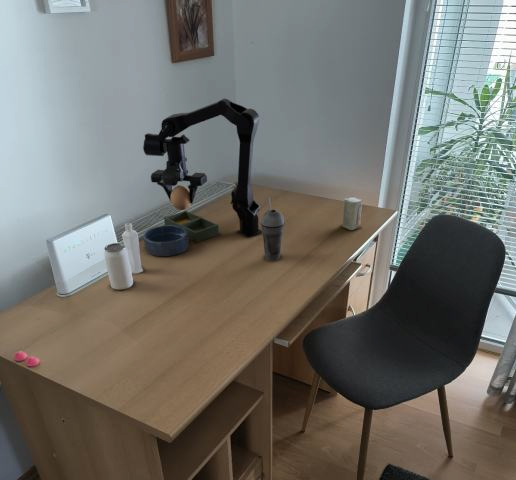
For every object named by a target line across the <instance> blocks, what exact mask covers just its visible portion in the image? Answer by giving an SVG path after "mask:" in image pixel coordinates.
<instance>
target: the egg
mask: <svg viewBox="0 0 516 480" xmlns="http://www.w3.org/2000/svg"><path fill="white" fill-rule="evenodd" d="M170 203H171V205H172V206H173V207H174V208H175V209H176V210H178V211H186V210H187V209H188V208H190V206H191V205H192V204H191V203H190V193H189V188H188V187H186V186H185V185H183V184H179V185H178V184H177V185H175V186H174V187H173V188H172V193H171V201H170Z"/></svg>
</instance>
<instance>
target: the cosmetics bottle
mask: <svg viewBox="0 0 516 480" xmlns="http://www.w3.org/2000/svg"><path fill="white" fill-rule="evenodd" d="M362 208H363V199H360V198H358V197H355V196H350V197H346V198H343V208H342V222H341V227H343V228H345V229H347V230H349V231H353V230H357V229H360V228H361V221H362V220H361V219H362V210H363V209H362Z"/></svg>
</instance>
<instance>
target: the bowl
mask: <svg viewBox="0 0 516 480" xmlns="http://www.w3.org/2000/svg"><path fill="white" fill-rule="evenodd" d="M142 237H143V243H144V244H143V245H144V249H145V251H146V253H148V254H149V255H152V256H155V257H156V256H157V257H171V256H175V255H179V254H182V253H184V252H185V251H187V250H188V248H189V238H188V235H187V231H186V229H184V228H182V227H179V226H173V225H165V224H164V225H159V226H155V227H152V228H150V229H147V230H146V231H145V232H144V233H143V236H142Z"/></svg>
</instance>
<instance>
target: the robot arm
mask: <svg viewBox="0 0 516 480" xmlns="http://www.w3.org/2000/svg"><path fill="white" fill-rule="evenodd" d="M219 116H222V117H224V118H225V119H226V120H227V121H228V122H229V123H230V124H232V125H234V126H236V127H235V128H236V135H237V137H238V141H239V149H238V169H237V185H236V186H235V187H234V188H233V189H232V191H231V192H230V195H231V201H230V205H231V206H232V209H233V211H234V212H236V214H237V217H238V219H239V229H238V230H236V232H237V234H240V235H241V236H245V237H247V238H251V237H253V236H256V235H258V234H261V233H263V231H262V229H259V226H260V225H259V224H260V223H259V216H258V213H259V211H260V209H261V206H260V205H259V203H258V202H257V201H255V200H254V193H253V192H254V191H253V188H252V185H251V180H252V167H253V164H252V163H253V151H254V140H255V137H256V134H257V131H258V126H259V124H260V123H259V122H260V115H259V113H258V112H257V111H256V110H255V109H254V108H246V107H245V106H244V105H241V104H238V103H236V102H233V101H231V100H230V99H228V98H222V99H220V100H218V101H216V102H213V103H211V104H208V105H205V106H203V107H200V108H198V109H196V110H192V111H188V112H180V113H173V114H171V115H169V116H167V117H165V118H164V119H163V120H162V121H161V124H160V126H161V129H160V131H159V133H155V134H154V133H150V132H149V133H146V134H144V139H143V146H142V150H143V152H144V155H145V156H150V157H151V156H153V157H164V156H165V154H166V155H167V161H166V163H165V165H166V167H165V169H156V170H155V171H153V172H152V173H151V174H150V182H151V183H154V184H155V183H156V185H157V186H160V187H162V188H163V190H164V192H165V194H166V195H167V198H168V199H169V201H170V202H171V193H172V191H173V187H176V186H178V183H179V182H181V183H182V182H189V185H187V189H188V190H189V193H190V203H191V205H192V204H193V203H194V201H195V197H196V193H197V190H198V188H199V187H202V186H203V185H204V184H206V183H207V182H208V176H207V174H206V173H205V172H194V173H193V174H192V175H189V169H187V163H186V162H187V161H188V158H187V157H186V154H185V145H186V144H188V143H189V142H190V138H188V137H187V136H186V135H185V134H181V136H178V135H179V134H180V133H182V132H184V131H185V130H187V129H188V128H190V127H192V126H194V125H197V124H200V123H203V122H205V121H208V120H211V119H213V118H217V117H219Z"/></svg>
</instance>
